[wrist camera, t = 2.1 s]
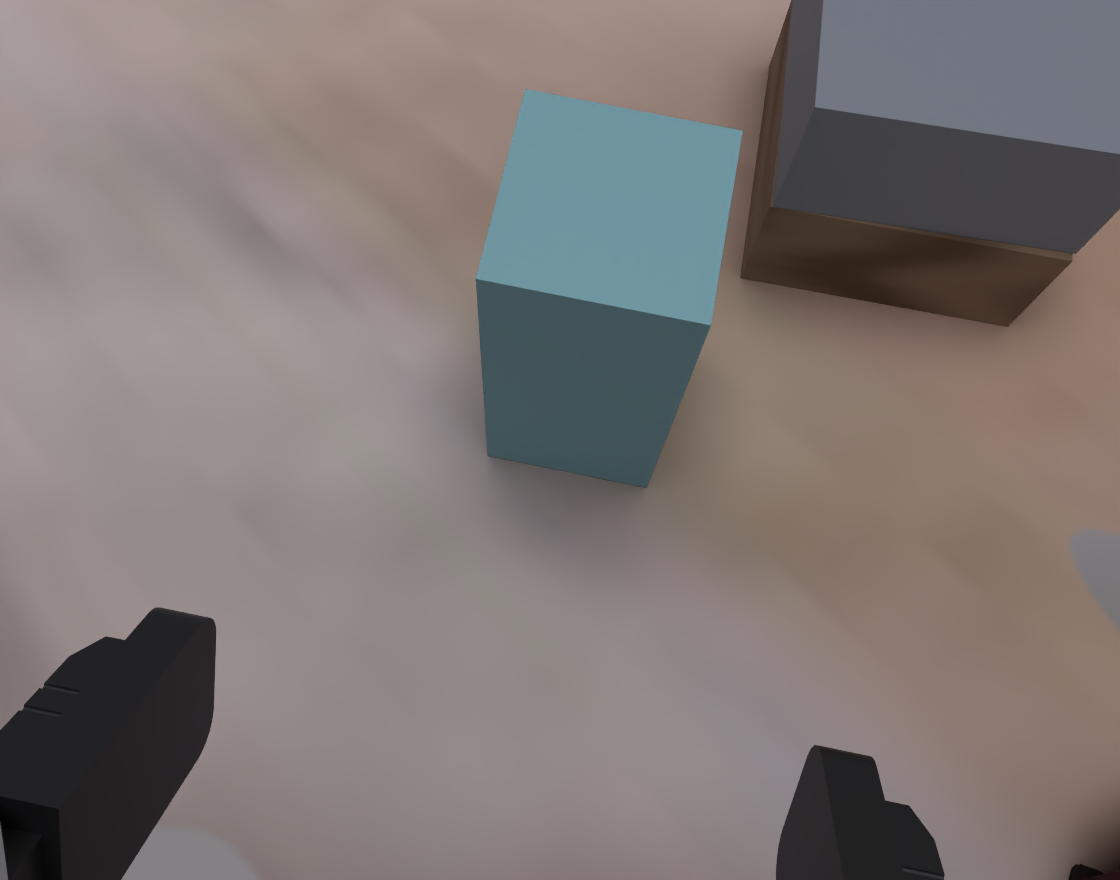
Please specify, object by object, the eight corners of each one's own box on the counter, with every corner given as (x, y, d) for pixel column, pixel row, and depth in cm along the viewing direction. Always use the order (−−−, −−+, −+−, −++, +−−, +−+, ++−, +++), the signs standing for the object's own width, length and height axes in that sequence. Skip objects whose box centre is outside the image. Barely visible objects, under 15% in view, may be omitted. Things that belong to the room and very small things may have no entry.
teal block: (487, 455, 32) (475, 279, 22) (521, 314, 34) (525, 89, 23) (646, 487, 32) (710, 325, 21) (672, 344, 34) (743, 130, 23)
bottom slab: (738, 281, 35) (770, 206, 31) (767, 70, 38) (799, -25, 34) (1004, 330, 35) (1072, 261, 30) (1010, 113, 38) (1073, 23, 34)
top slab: (773, 206, 31) (815, 107, 26) (794, -26, 34) (835, -147, 30) (1075, 254, 30) (1166, 161, 26) (1068, 16, 34) (1147, -100, 29)
